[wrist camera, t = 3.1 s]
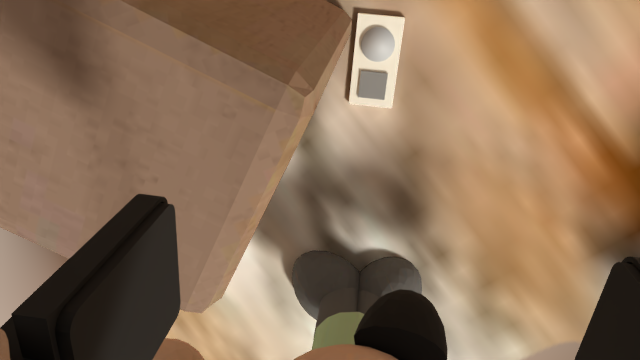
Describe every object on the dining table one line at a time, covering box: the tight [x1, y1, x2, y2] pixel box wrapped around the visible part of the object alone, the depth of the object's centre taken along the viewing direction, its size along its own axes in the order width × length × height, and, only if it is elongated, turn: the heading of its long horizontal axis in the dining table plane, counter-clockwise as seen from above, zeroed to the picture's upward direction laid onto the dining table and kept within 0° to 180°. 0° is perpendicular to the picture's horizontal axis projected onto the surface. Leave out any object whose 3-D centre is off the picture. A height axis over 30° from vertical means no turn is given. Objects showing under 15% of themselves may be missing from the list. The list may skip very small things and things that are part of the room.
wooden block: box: [0, 0, 352, 313], centre depth 24 cm, size 10×10×20 cm
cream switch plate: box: [349, 13, 405, 109], centre depth 32 cm, size 6×3×1 cm, turn 176°
